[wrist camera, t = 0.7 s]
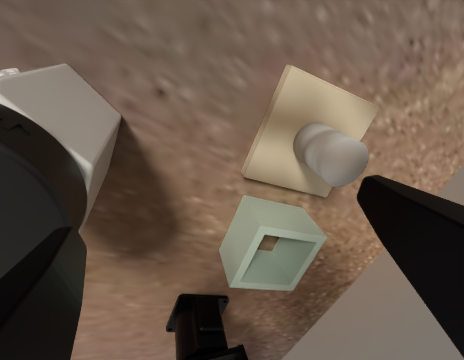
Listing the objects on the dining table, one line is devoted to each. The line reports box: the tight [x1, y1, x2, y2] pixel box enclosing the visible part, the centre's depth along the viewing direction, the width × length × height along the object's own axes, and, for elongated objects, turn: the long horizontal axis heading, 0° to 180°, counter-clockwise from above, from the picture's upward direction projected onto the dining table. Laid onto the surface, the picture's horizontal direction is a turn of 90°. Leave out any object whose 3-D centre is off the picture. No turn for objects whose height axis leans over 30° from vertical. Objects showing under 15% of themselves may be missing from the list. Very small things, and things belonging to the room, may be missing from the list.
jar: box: [0, 64, 121, 278], centre depth 13 cm, size 9×8×12 cm
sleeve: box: [219, 195, 327, 291], centre depth 26 cm, size 7×7×5 cm
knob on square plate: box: [241, 65, 380, 197], centre depth 21 cm, size 10×10×6 cm
